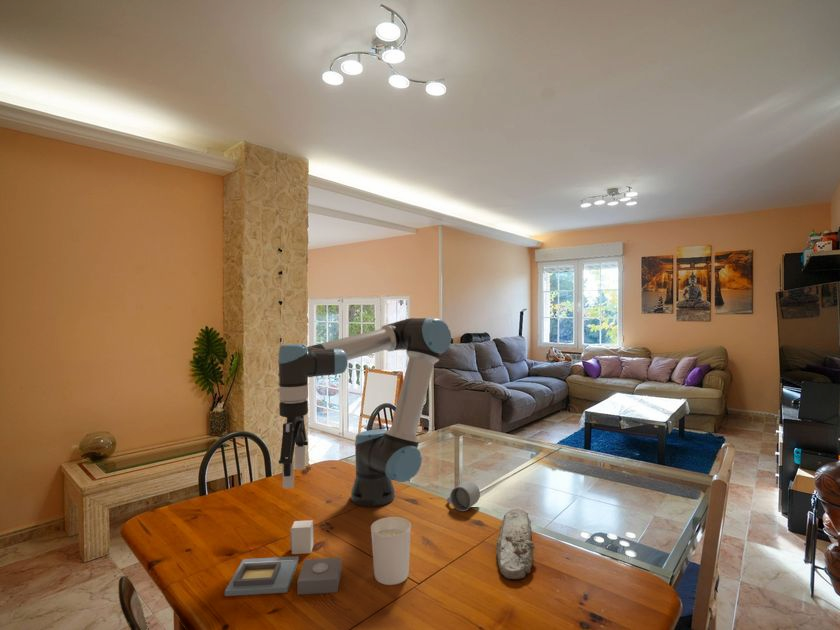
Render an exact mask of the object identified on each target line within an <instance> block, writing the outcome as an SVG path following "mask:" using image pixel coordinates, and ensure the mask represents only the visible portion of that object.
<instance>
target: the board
mask: <svg viewBox="0 0 840 630" xmlns="http://www.w3.org/2000/svg"><path fill="white" fill-rule="evenodd" d="M299 561H300V556H299V555H296V556H279V557H278V556H277V557H276V556H275V557H264V558H263V557H260V558H243V559H242V561H241V562H240V564H239V565H238V568H237V569H236V571H235V573H234V574H233V576H232V578H231V579H230V581H229V583H228V584H227V586H226V588H225V590H224V597H233V596H234V597H235V596H249V595H250V596H251V595H265V594H266V595H267V594H283V593H284V594H285V593H288V592H289V589H290V586H291V584H292V581H293V578H294V575H295V572H296V570H297V566H298V565H299Z"/></svg>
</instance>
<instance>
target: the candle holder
mask: <svg viewBox="0 0 840 630" xmlns="http://www.w3.org/2000/svg"><path fill="white" fill-rule="evenodd" d="M411 529H412V525H411V522H410V521H409V520H407V519H405V518H402V517H398V516H388V517H383V518H378V519H377V520H375V521H374V522H372V524H371V525H370V532H371V535H370V536H371V549H372V560H373V561H372V562H373V574H374V578H375V580H376V581H377V582H378V583H380V584H382V585H385V586H394V585H395V586H396V585H399V584H401V583H403V582H405V581H406V580H407V578H408V577H409V573H410V572H409V571H410V570H409V569H410V553H411V552H410V550H411V549H410V548H411V532H412V531H411Z"/></svg>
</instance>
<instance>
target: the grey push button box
mask: <svg viewBox="0 0 840 630" xmlns="http://www.w3.org/2000/svg"><path fill="white" fill-rule="evenodd" d="M341 573H342V557H327V558H324V557H323V558H308V559H307V558H306V559H304V560H303V564H302V565H301V570H300V572H299V575H298V579H297V582H296V584H297V585H296V588H297V593H296V594H297V595H313V594H315V595H316V594H328V593H332V594H333V593H338V592H339V584H340V580H341Z"/></svg>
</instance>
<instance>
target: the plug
mask: <svg viewBox="0 0 840 630" xmlns="http://www.w3.org/2000/svg"><path fill="white" fill-rule="evenodd" d="M313 548H314V520H313V519H311V520H309V519H308V520H295V521H293V524H292V525H291V528H290V530H289V551H291V554H292V555H301V554H303V555H304V554H311V553H312V551H313Z"/></svg>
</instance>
